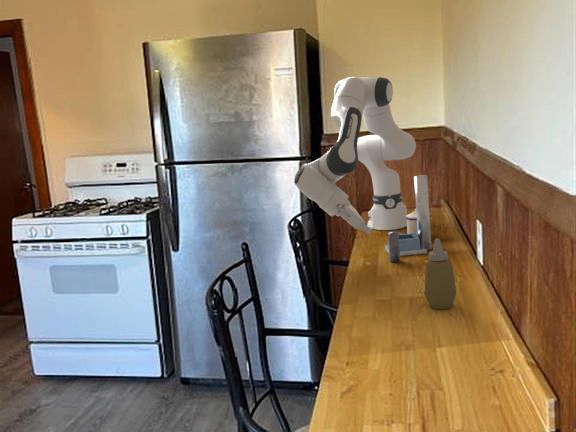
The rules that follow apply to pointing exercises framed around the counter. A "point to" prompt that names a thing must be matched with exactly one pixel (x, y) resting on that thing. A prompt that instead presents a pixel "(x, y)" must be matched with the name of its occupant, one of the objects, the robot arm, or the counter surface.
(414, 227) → the teacup with lid
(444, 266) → the squeeze bottle
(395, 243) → the dark grey rounded rod
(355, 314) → the counter surface
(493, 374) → the counter surface
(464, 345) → the counter surface
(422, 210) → the box with upright lever
